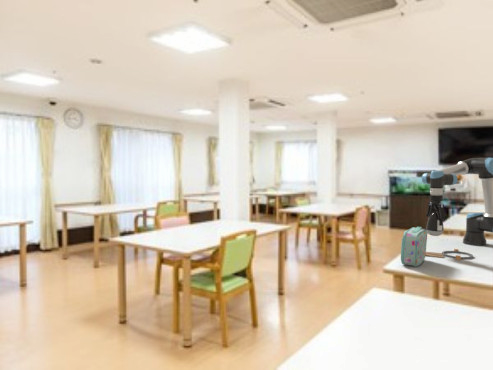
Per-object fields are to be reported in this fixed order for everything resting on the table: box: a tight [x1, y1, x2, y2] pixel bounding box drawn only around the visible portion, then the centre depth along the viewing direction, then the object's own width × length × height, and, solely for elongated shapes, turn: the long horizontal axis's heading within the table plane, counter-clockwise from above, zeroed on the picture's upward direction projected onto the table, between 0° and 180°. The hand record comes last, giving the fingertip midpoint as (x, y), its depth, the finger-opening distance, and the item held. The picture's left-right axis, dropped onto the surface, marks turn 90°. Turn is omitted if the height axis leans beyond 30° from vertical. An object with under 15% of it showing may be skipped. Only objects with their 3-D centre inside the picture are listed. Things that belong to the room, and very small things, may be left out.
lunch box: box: [400, 226, 428, 268], centre depth 235 cm, size 27×10×21 cm, turn 145°
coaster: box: [425, 251, 445, 259], centre depth 255 cm, size 11×11×1 cm
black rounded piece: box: [425, 211, 445, 237], centre depth 254 cm, size 10×10×15 cm
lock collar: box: [441, 248, 474, 261], centre depth 254 cm, size 22×18×2 cm
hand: (434, 228), depth 254 cm, fingers closed on black rounded piece, 10 cm apart
